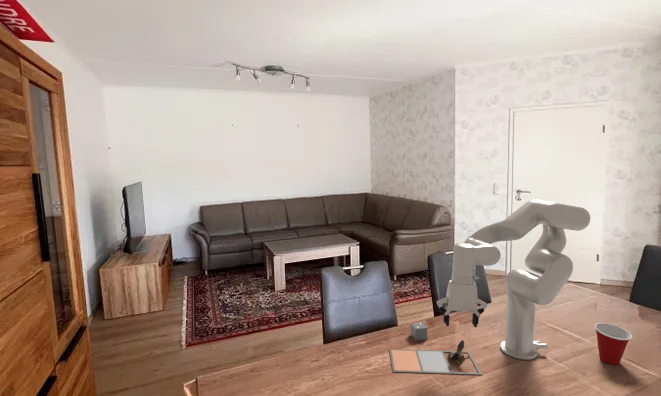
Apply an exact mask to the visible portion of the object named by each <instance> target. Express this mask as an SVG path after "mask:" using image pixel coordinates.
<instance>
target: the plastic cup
mask: <svg viewBox="0 0 661 396" xmlns="http://www.w3.org/2000/svg"><path fill="white" fill-rule="evenodd" d="M594 328H595V329H594V330H595V331H596V339H597V350H598V356H599V359H600V361H602V362H603V363H606V364H608V365H612V366H618V365H620V363H621V362H622V361H621V360H622V358H623V356H624V353H625V350H626V348H627V344H628V342H629V341H630V340H631V339H632V338H633V335H632V333H631V332H629V330H627V329H624V327H621V326H618V325H615V324H611V323H607V322H597V323H595V324H594Z"/></svg>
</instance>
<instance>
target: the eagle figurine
mask: <svg viewBox="0 0 661 396" xmlns="http://www.w3.org/2000/svg"><path fill="white" fill-rule="evenodd" d="M456 348H457V349H456V351H457V352H451V353H448V354H447V355H448V357H449V358H455V359H456V362H458V365H457V366H458V367H460V366H461V365H462V363H463V362H465V360H468V359H470V356H469V355H468V356H466V357H465V355H464V354H465V353H461V352H462V351H464V348H465V341H464V340H463V339H462V340H461V341H460V342H459V343H458V344H457V347H456Z"/></svg>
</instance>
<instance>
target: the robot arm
mask: <svg viewBox="0 0 661 396" xmlns="http://www.w3.org/2000/svg"><path fill="white" fill-rule="evenodd" d="M590 223H591V215H590V211H588V210H587V209H586V208H584V207H582V206H575V205H567V204H563V203H560V202H555V201H549V200H541V199H531V200H528V201H526V202H525V203H524V204H523V205H521V206H520V207H519V208H517V209H516V210H515V211H514V212H513V213H511V214H510V215H508V216H507V217H506V218H505V219H503V220H501V221H498V222H495V223H492V224H490V225H486V226H483V227H481V228H480V229H477V231H474V233H472V234H471V235H469V237H468V238H466V239H465V241H464V242H459V243H455V244H454V245H453V248H452V250H453V251H452V268H451V269H452V272H451V279H450V280H448V283H447V289H446V295H445V296H446V297H443V298H441V299H438V300H437V301H436V305H437V306H438V308H439V310H440V311H441V312H442V314H443V323H444V324H445V326H446V327H449V326H450V313H451V312H473V313H472V316H471V317H472V319H471V320H472V321H471V323H472V326H473V327H474V328H478V325H479V319H480V318H479V317H481V315H482V314H483V313H485V310H486V309H487V307H488V304H487V303H486V302H485V301H484V300H481V298H479V297H478V296H479V295H478V288H477V283H476V281H477V280H480V276H478V275H476V266H483V267H484V266H487V267H490V266H494V265H496V264H498V263H499V261H500V259H501V255H502V254H501V251H500V250H499V248H498V247H496V246H495V245H493V244H494V243H495V244H496V243H498V242H508V241H509V242H510V241H517V240H520V239H522V238H524V237H525V236H526V235H527V234H528V233H530V232H531V231H532V230H534V228H536V227H538V226H539V225H542V233H541V236H540V237H539V239H538V240H537V241H536V242H535V244H534V246H533V247H532V248H531V250H530V251H529V252H528V254H527V255H526V257H525V259H524V264H525V266H526V267H527V268H528V270H530V271H532V272H530V271H528V270H524V269H519V268H514V269H512V270H510V271H509V272H508V273H507V274H506V277H505V280H504V281H505V282H504V285H505V290H506V316H505V317H506V319H505V336H504V337H505V339H504V340H503V341H501V342H500V347H499V348H500V350H501V351H502V352H503V353H504V354H506V355H507V356H510V357H511V358H515V359H518V360H522V361H523V360H525V361H528V360H529V361H530V360H534V359H535V358H537V357H538V350H540V349H541V350H547V349H548V345H547V343H541V342H540V340H535V338H534V337H535V323H536V305H538V306H547V305H550V304H551V303H552V302H553V301H554V300H555V299H556V297H557V296H558V295H559V294H560V292H561V290H562V289H563V288H564V287H565V285H566V284H567V282H568V281H569V280H570V278H571V276H572V274H573V270H574V263H573V261H572V260H571V258H570V257H569V256H567V255H566V254H564V253H562V252H563V251H564V249H565V247H566V244H567V237H566V233H565V230H568V231H576V232H578V231H583V230H585V229H586V228H588V226H589V225H590ZM533 272H534V273H533ZM535 273H536V274H535ZM538 274H539V275H538ZM540 275H541V276H540ZM443 304H445V307H444V306H443ZM478 305H480V306H479V308H478Z"/></svg>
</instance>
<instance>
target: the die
mask: <svg viewBox="0 0 661 396" xmlns="http://www.w3.org/2000/svg"><path fill="white" fill-rule="evenodd" d="M411 335H412V336H411ZM410 336H411V337H412V338H413V339H414V341H416V340H417V341H425V340H426V341H427V340H428V327H427V325H425V324H424V323H423V322H422V321H421V322H413V323H410Z"/></svg>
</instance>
